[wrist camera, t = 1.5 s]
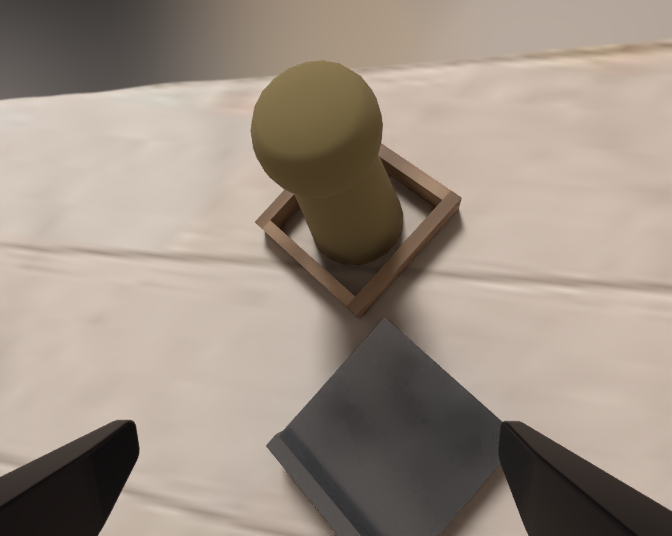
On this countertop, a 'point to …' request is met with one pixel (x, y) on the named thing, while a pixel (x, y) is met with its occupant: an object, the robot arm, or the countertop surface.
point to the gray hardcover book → (390, 442)
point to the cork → (329, 158)
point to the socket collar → (399, 260)
